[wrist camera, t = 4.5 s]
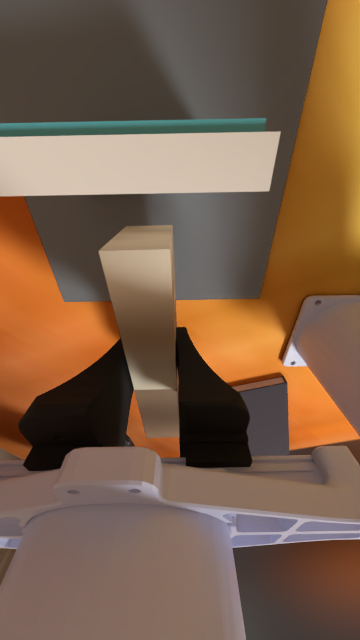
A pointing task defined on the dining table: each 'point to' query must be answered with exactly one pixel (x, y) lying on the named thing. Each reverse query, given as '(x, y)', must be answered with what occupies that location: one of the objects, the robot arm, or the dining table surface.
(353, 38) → the dining table surface
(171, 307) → the long wooden beam
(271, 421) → the notebook
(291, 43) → the slate mat
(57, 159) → the tile
